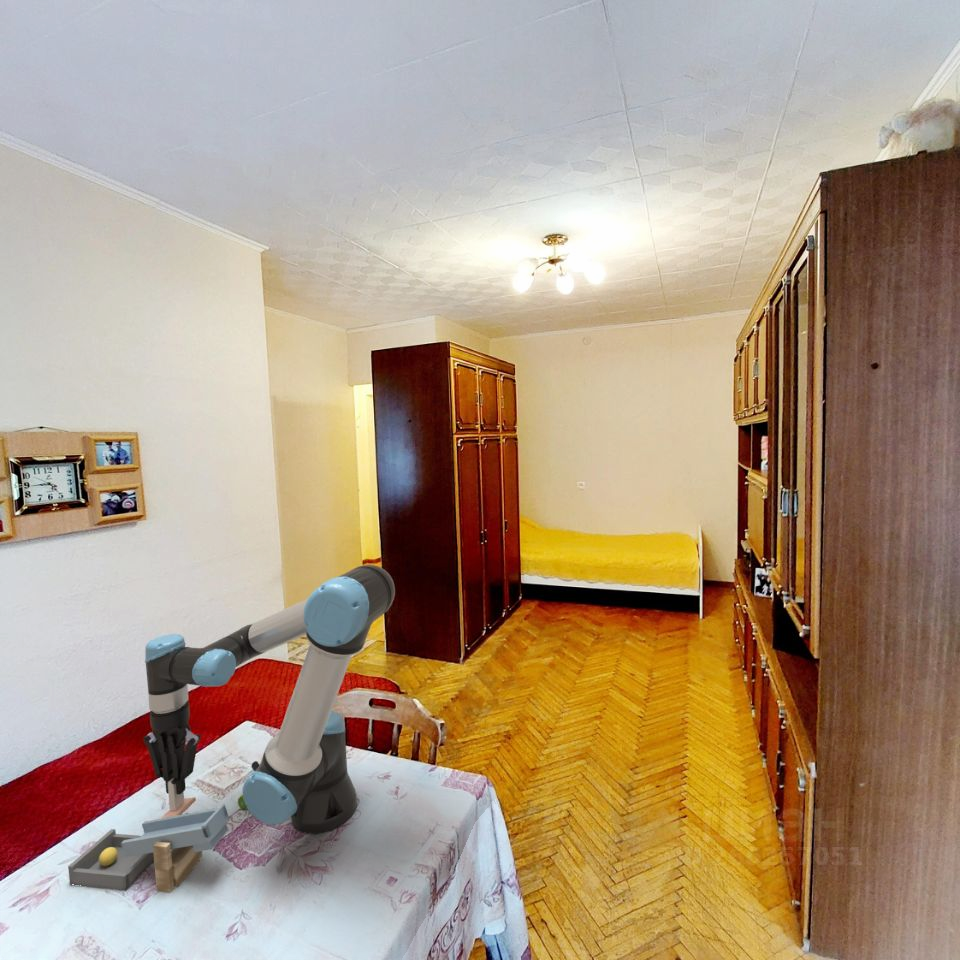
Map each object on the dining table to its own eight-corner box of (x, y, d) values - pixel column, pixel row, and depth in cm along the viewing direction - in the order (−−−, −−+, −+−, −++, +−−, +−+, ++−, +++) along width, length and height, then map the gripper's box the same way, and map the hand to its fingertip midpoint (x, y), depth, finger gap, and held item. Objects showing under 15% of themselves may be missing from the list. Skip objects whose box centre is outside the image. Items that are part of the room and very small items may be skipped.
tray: (164, 850, 109) (163, 833, 109) (126, 890, 99) (124, 871, 99) (113, 846, 111) (111, 829, 111) (70, 885, 101) (68, 866, 101)
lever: (258, 796, 113) (252, 774, 113) (211, 852, 98) (203, 826, 98) (183, 810, 117) (177, 789, 117) (126, 866, 101) (118, 842, 101)
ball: (105, 848, 108) (114, 860, 107) (92, 860, 104) (101, 872, 104) (115, 840, 107) (124, 852, 107) (101, 852, 104) (111, 864, 104)
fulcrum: (204, 856, 107) (200, 813, 107) (172, 892, 98) (168, 847, 98) (187, 854, 108) (184, 812, 107) (154, 891, 99) (150, 845, 99)
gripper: (207, 698, 115) (214, 796, 116) (157, 696, 117) (164, 792, 118) (183, 715, 107) (190, 820, 109) (130, 713, 109) (138, 815, 111)
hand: (177, 805), depth 113 cm, fingers closed
